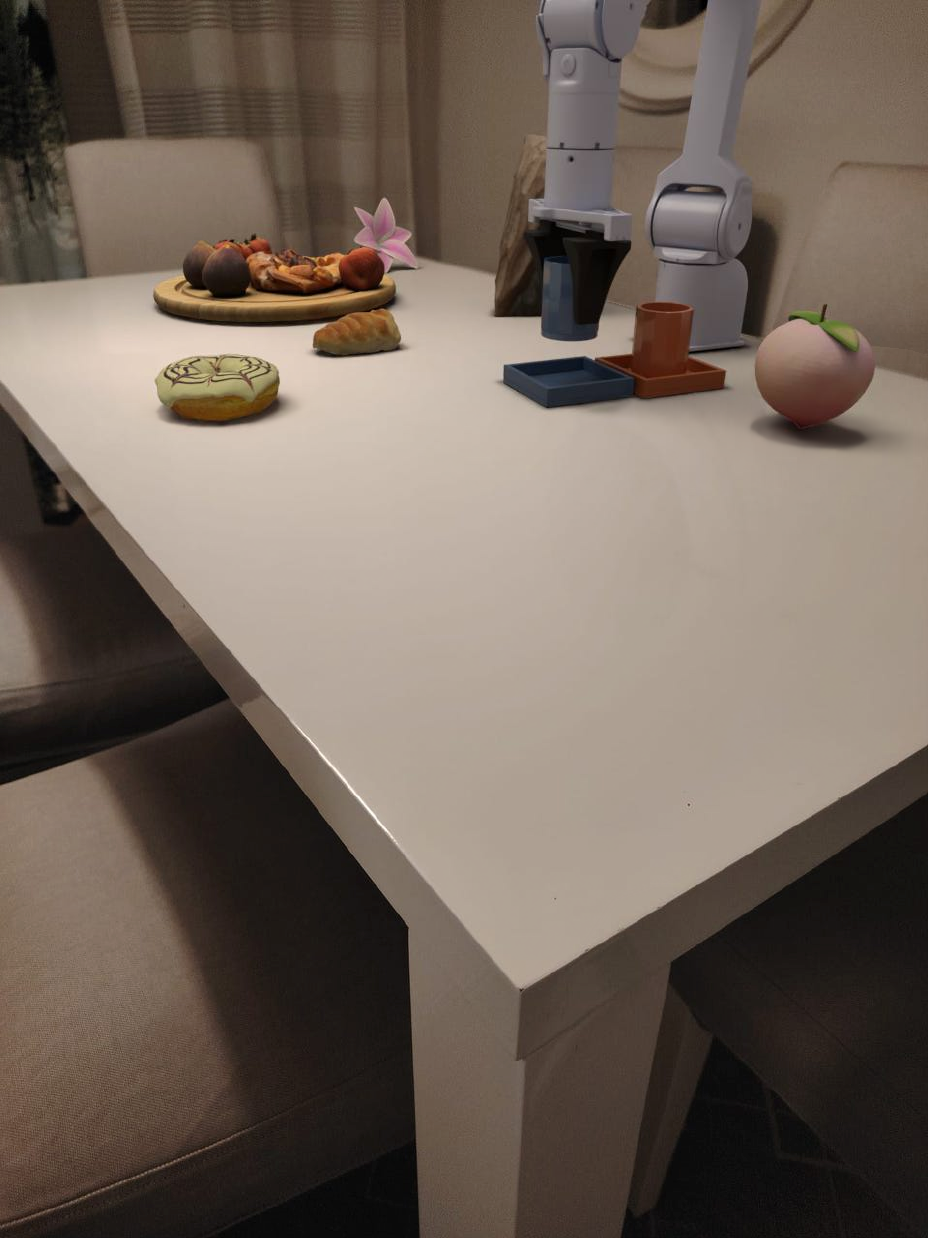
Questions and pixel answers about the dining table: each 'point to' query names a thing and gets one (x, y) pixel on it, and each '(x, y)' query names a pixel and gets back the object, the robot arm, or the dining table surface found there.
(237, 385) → the decorated donut
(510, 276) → the brown rock
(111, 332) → the dining table surface
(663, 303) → the terracotta cup
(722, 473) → the dining table surface
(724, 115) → the robot arm
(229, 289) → the wooden plate
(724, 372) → the terracotta dish
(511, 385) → the blue dish
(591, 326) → the blue cup
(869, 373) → the decorative fruit
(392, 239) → the lily
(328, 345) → the pastry
